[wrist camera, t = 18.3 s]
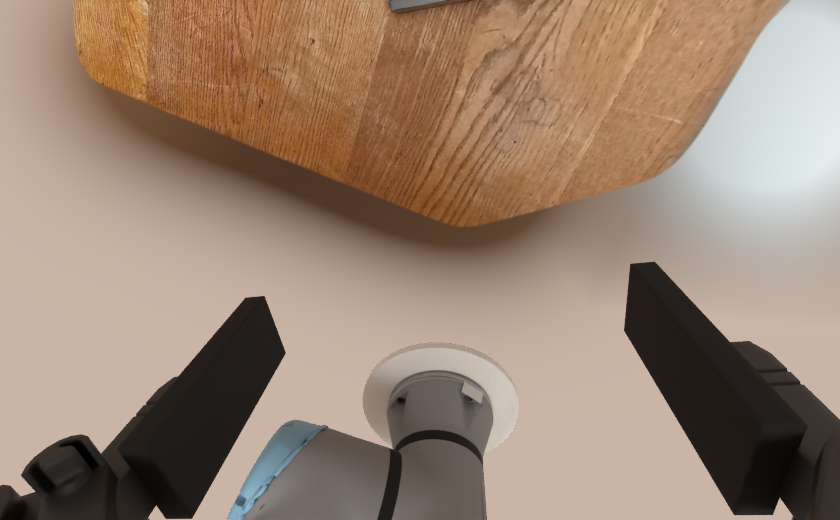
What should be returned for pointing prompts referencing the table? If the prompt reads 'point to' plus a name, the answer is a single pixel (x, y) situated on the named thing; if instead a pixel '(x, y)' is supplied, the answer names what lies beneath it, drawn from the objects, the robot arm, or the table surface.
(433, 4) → the tray
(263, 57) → the table surface
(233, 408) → the robot arm
